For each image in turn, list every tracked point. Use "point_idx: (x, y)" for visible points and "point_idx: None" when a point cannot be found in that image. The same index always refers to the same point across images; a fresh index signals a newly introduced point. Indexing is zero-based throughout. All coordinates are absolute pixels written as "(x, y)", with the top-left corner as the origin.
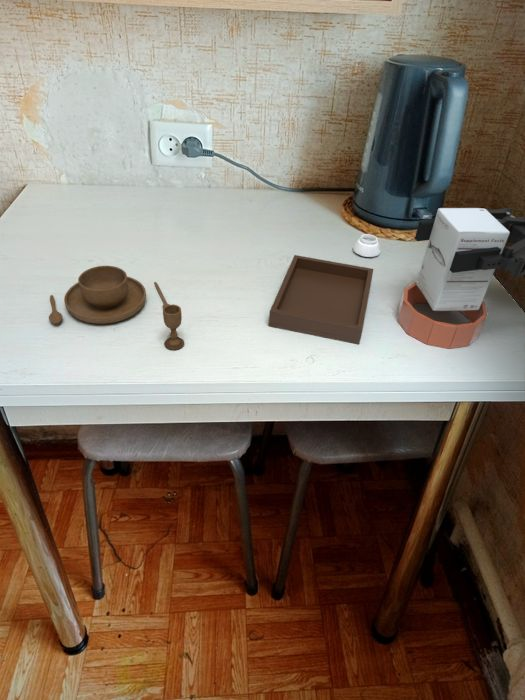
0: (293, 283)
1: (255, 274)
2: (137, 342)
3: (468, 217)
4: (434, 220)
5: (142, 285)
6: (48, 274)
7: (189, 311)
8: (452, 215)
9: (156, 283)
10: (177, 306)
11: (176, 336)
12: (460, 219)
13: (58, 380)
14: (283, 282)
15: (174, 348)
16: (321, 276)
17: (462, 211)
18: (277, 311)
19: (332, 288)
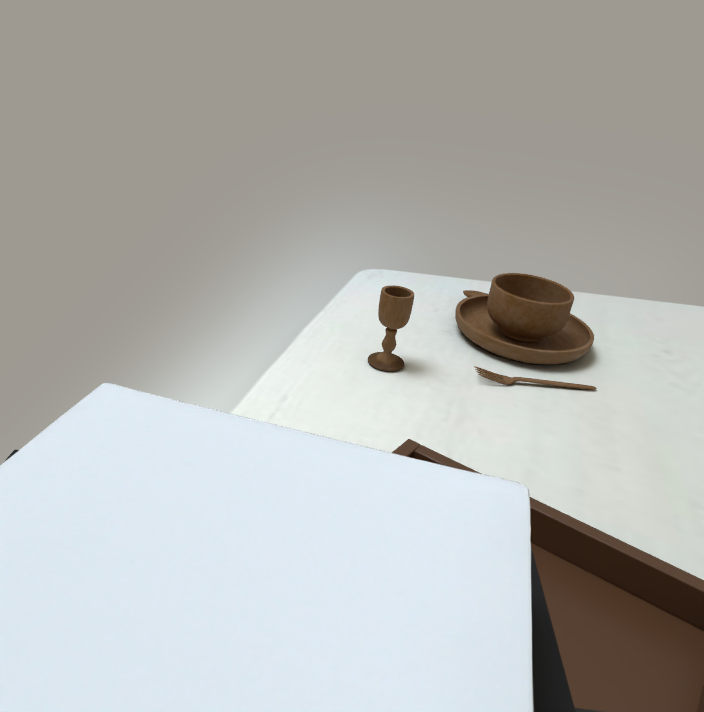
0: (598, 584)
1: (664, 540)
2: (405, 339)
3: (262, 564)
4: (541, 618)
5: (555, 352)
6: (611, 317)
7: (486, 400)
8: (352, 476)
9: (589, 387)
10: (406, 297)
11: (383, 345)
12: (253, 476)
13: (348, 286)
14: (548, 507)
15: (369, 356)
16: (662, 689)
17: (420, 605)
18: (403, 449)
19: (569, 685)
